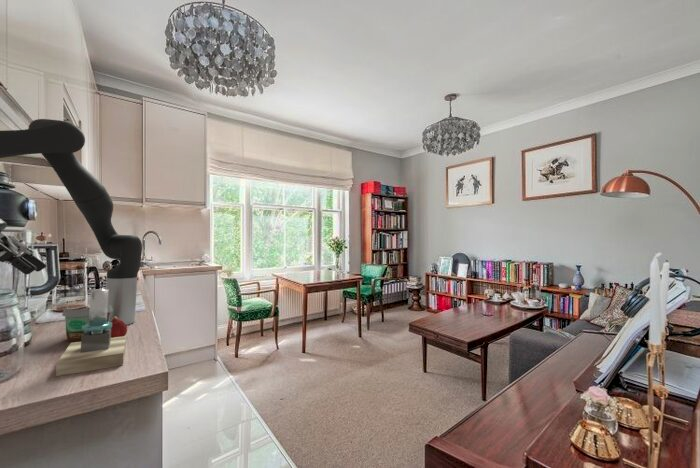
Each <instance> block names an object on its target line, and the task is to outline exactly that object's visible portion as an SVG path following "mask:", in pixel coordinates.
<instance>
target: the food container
mask: <svg viewBox="0 0 700 468" xmlns="http://www.w3.org/2000/svg"><path fill="white" fill-rule="evenodd" d="M89 310H90V307H85V308H84V307H83V308H77V309H75V308H74V309H69V308H67V306H66V307H64V309H63V311H62V314H61V315H62V317H64V320H65V334H66V335H65V336H66V342H67V343H74V342H81V337H82V335H83V333H84V332H85V331H82V326H83V325H85V324H89ZM112 311H113V310H112V307H111V305H109V306H108V308H107V322H108V320H109V315H110V312H112Z"/></svg>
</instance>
